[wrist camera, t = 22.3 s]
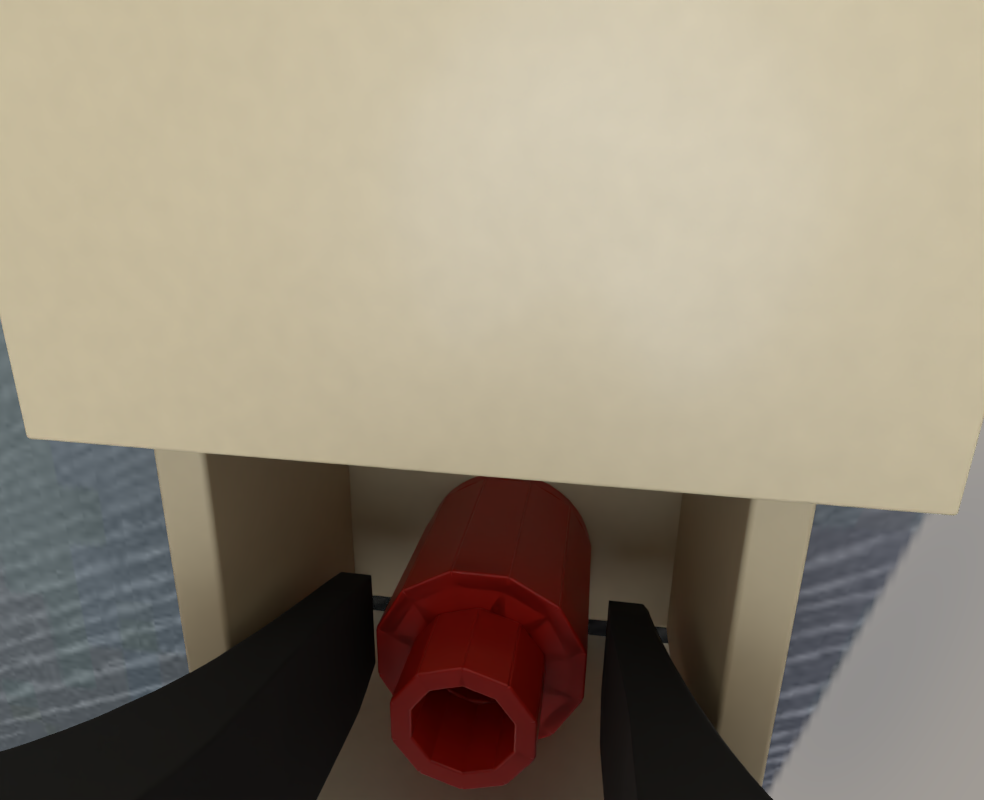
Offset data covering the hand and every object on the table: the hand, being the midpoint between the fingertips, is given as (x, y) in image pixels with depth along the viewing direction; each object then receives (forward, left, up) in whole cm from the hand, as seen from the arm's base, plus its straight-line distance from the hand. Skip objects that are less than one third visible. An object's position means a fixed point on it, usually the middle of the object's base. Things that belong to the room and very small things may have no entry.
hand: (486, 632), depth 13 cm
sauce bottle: (0, 0, -3) cm, 3 cm away
